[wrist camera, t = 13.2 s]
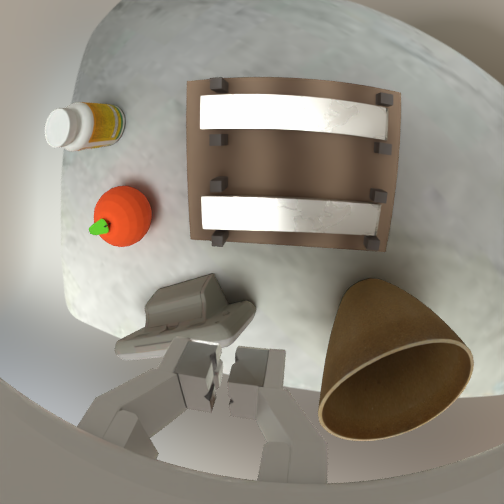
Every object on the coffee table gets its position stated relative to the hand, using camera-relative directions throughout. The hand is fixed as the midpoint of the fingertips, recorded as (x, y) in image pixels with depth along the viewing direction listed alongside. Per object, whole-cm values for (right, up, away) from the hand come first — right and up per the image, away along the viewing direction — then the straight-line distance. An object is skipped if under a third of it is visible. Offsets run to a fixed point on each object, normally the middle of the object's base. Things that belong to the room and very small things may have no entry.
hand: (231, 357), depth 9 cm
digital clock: (-7, -4, +28) cm, 29 cm away
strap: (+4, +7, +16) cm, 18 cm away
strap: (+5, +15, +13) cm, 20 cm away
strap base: (+5, +13, +19) cm, 24 cm away
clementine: (-14, +9, +24) cm, 29 cm away
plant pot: (+16, -3, +25) cm, 29 cm away
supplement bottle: (-17, +19, +20) cm, 32 cm away
